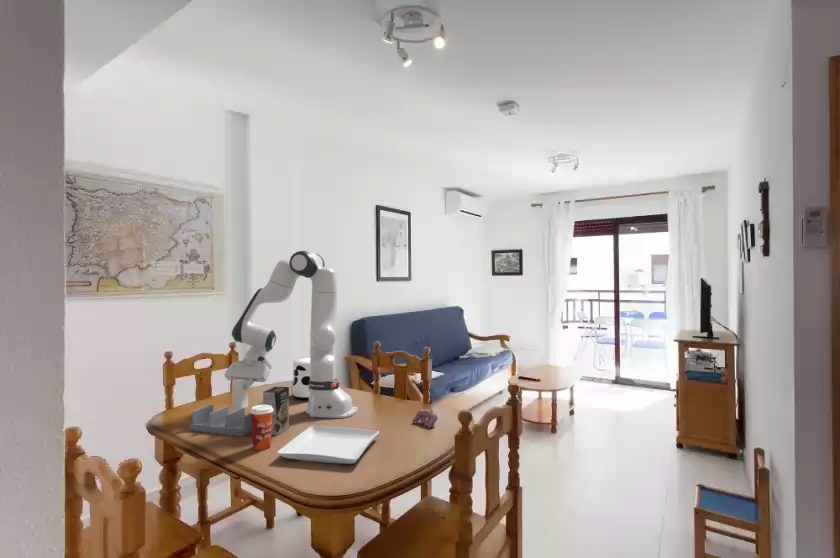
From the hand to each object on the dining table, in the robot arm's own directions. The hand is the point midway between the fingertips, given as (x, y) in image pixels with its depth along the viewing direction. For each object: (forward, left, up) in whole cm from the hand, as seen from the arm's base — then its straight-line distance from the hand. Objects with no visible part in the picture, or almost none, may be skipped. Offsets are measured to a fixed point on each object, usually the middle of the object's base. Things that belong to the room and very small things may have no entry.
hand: (239, 388), depth 190 cm
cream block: (0, -1, -8) cm, 8 cm away
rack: (-7, +16, -11) cm, 21 cm away
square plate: (-56, +24, -12) cm, 62 cm away
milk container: (-14, -35, -11) cm, 39 cm away
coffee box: (-27, +13, -11) cm, 32 cm away
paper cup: (-32, +29, -11) cm, 45 cm away
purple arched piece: (-81, -10, -11) cm, 82 cm away
